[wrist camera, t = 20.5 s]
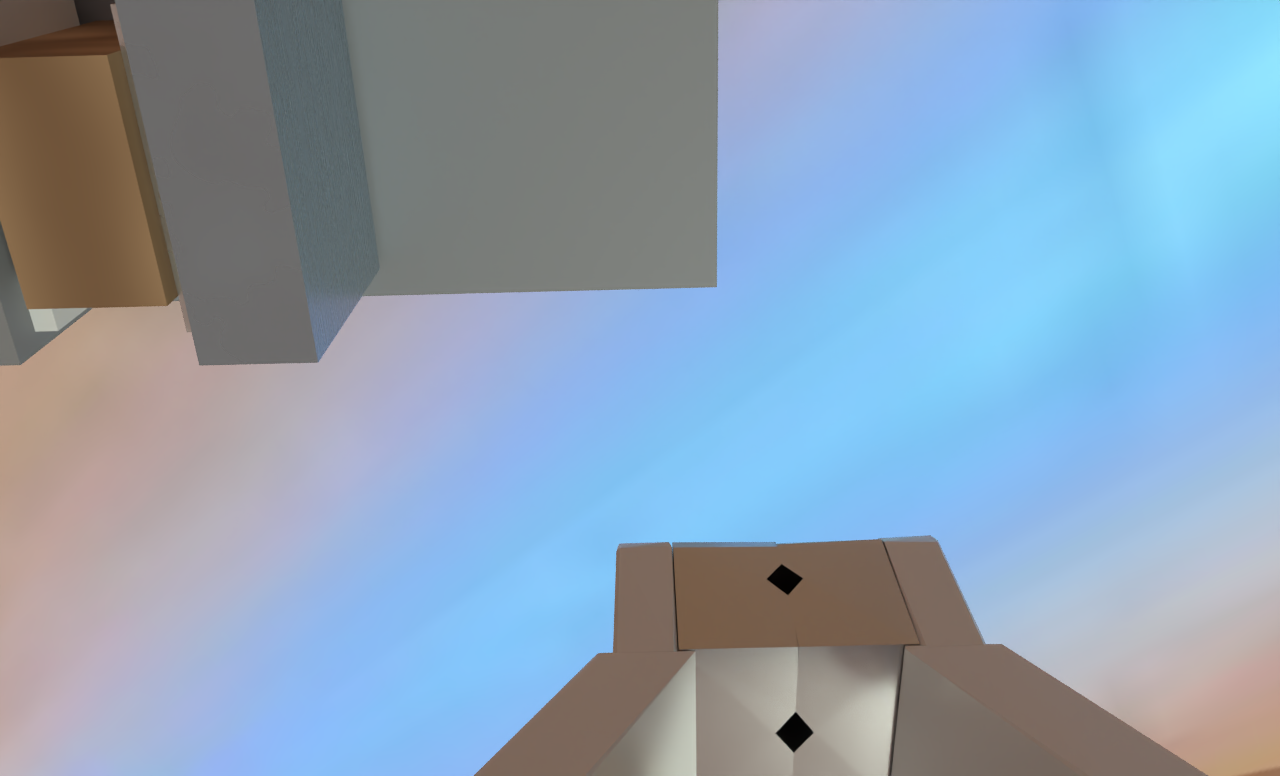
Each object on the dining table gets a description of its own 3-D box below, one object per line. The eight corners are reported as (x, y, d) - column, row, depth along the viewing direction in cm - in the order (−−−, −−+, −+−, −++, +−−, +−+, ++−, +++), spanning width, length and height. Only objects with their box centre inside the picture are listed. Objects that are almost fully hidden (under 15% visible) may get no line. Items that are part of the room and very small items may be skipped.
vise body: (713, -97, 30) (740, -87, 22) (712, 265, 35) (734, 382, 27) (-44, -75, 31) (-290, -56, 22) (58, 282, 35) (-114, 403, 27)
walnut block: (219, 17, 30) (106, 55, 23) (259, 222, 32) (167, 305, 26) (97, 20, 30) (-49, 59, 23) (146, 225, 32) (27, 309, 26)
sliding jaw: (335, -43, 29) (250, -21, 22) (379, 268, 33) (317, 362, 26) (204, -40, 29) (83, -15, 23) (264, 271, 33) (175, 366, 26)
